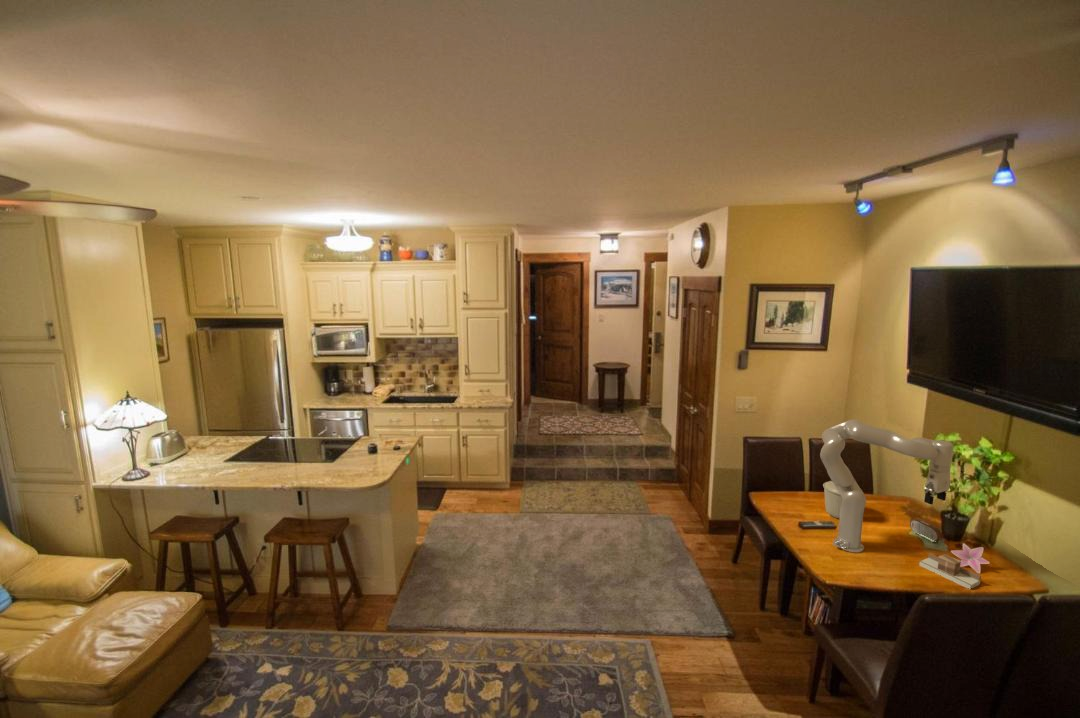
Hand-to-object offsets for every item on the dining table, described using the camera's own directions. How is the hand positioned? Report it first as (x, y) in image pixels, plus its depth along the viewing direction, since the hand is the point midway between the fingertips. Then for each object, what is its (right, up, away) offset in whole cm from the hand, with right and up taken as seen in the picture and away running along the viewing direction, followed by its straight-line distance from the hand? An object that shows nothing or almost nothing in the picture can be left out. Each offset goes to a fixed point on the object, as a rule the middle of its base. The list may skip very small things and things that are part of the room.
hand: (934, 501), depth 215 cm
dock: (0, -31, -8) cm, 32 cm away
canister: (-14, -23, +47) cm, 54 cm away
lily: (+14, -30, -2) cm, 33 cm away
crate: (-1, -29, -8) cm, 30 cm away
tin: (+14, -26, +22) cm, 37 cm away
